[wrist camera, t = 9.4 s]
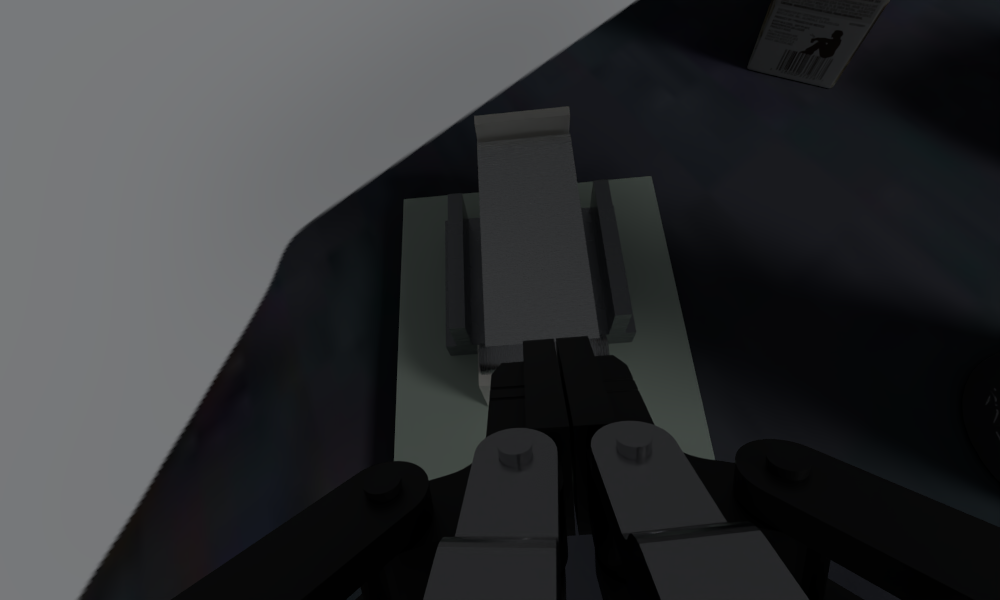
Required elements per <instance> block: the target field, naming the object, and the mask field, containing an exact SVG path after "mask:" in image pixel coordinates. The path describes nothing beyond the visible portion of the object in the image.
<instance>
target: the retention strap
mask: <svg viewBox="0 0 1000 600" xmlns="http://www.w3.org/2000/svg"><path fill="white" fill-rule="evenodd" d="M477 154H478V179H479V203H480V228H481V253H482V277H483V302H484V326H485V343H482V344H479V349H478V353H479V367H480V373H481V375H490V374H492V373H493V372H494V371H495V370H496V369H497V368H498V366H499V365H500V364H501V363H509V362H522V361H523V341H526V340H540V339H553V338H554V343H555V349H556V338H565V337H579V336H588V338H589V341H590V344H591V347H592V350H593V353H594V356H604V355H609V346H608V340H607V336H606V334H599V329H598V322H597V315H596V308H595V301H594V294H593V287H592V280H591V273H590V267H589V260H588V253H587V246H586V239H585V232H584V225H583V218H582V211H581V205H580V198H579V191H578V184H577V177H576V170H575V163H574V156H573V149H572V143H571V136H570V133H569V134H559V135H549V136H539V137H529V138H519V139H509V140H499V141H489V142H479V143H477ZM556 354H557V353H556Z"/></svg>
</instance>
